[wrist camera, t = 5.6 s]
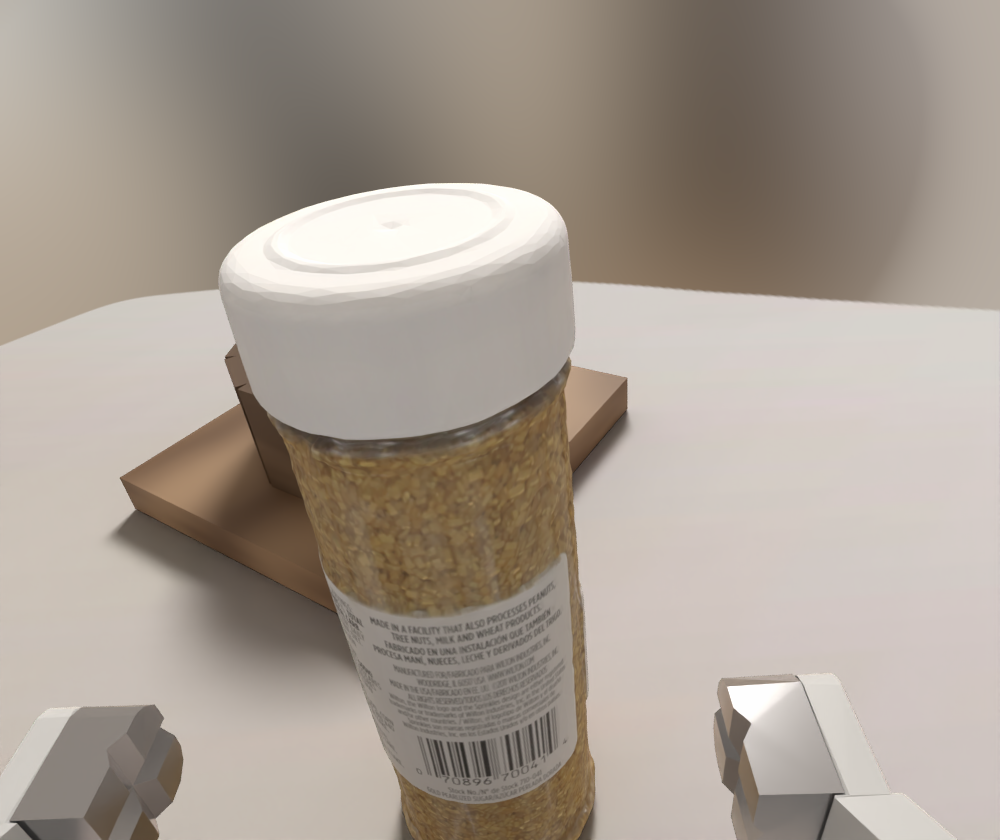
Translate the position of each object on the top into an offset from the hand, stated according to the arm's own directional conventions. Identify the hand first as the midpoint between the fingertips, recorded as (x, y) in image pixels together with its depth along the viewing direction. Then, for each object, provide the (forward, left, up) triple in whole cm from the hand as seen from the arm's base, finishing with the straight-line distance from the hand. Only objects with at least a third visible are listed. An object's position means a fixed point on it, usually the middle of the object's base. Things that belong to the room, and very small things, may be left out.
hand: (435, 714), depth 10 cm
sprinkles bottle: (-1, +2, -7) cm, 8 cm away
